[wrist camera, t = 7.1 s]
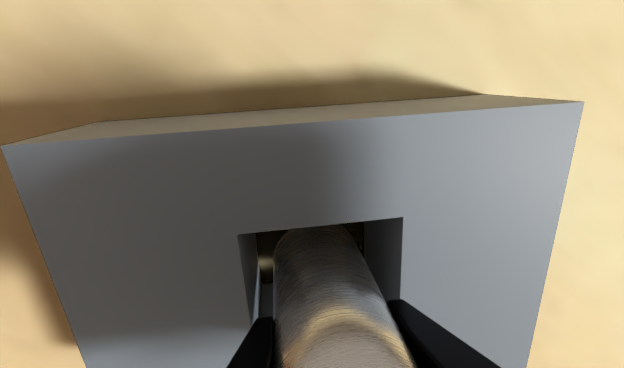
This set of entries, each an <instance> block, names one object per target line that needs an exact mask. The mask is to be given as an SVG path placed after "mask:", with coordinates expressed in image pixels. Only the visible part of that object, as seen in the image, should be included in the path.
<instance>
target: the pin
mask: <svg viewBox="0 0 624 368" xmlns="http://www.w3.org/2000/svg"><path fill="white" fill-rule="evenodd" d="M273 320H274V368H419V367H418V365H417V363H416V361H415V359H414V357H413V355H412V353H411V351H410V349H409V347H408V345H407V343H406V341H405V339H404V337H403V335H402V333H401V331H400V329H399V327H398V325H397V323H396V321H395V319H394V317H393V315H392V313H391V312H390V310H389V308H388V306H387V304H386V302H385V300H384V298H383V296H382V294H381V292H380V290H379V288H378V286H377V284H376V282H375V280H374V278H373V276H372V274H371V272H370V270H369V268H368V266H367V264H366V262H365V260H364V258H363V256H362V254H361V252H360V250H359V248H358V246H357V244H356V242H355V240H354V238H353V237H352V235H351V234H350V233H349V232H348V231H347V230H346V229H345V228H344V227H342V226H341V225H339V224H333V225H323V226H314V227H304V228H295V229H290V230H289V231H287V232H286V233H285V234H284V235H283V236H282V238H281V239H280V240H279V242H278V244H277V246H276V248H275V252H274V257H273Z"/></svg>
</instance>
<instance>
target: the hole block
mask: <svg viewBox="0 0 624 368" xmlns="http://www.w3.org/2000/svg"><path fill="white" fill-rule="evenodd" d="M583 105H584V102H581V101H568V100H554V99H541V98H528V97H515V96H501V95H488V94H484V95H469V96H455V97H441V98H427V99H413V100H399V101H385V102H371V103H357V104H343V105H329V106H315V107H301V108H287V109H272V110H258V111H244V112H230V113H216V114H202V115H188V116H174V117H160V118H146V119H132V120H118V121H104V122H95V123H91V124H87V125H83V126H79V127H75V128H71V129H66V130H62V131H58V132H54V133H50V134H46V135H42V136H38V137H34V138H30V139H26V140H22V141H18V142H14V143H10V144H6V145H2V146H0V148H1V150H2V153H3V155H4V158H5V160H6V163H7V166H8V168H9V171H10V173H11V176H12V178H13V181H14V184H15V186H16V189H17V191H18V194H19V196H20V199H21V201H22V204H23V207H24V209H25V212H26V214H27V217H28V219H29V222H30V225H31V227H32V230H33V232H34V235H35V237H36V240H37V242H38V245H39V248H40V250H41V253H42V255H43V258H44V260H45V263H46V266H47V268H48V271H49V273H50V276H51V278H52V281H53V283H54V286H55V289H56V291H57V294H58V296H59V299H60V301H61V304H62V307H63V309H64V312H65V314H66V317H67V319H68V322H69V324H70V327H71V330H72V332H73V335H74V337H75V340H76V342H77V345H78V348H79V350H80V353H81V355H82V358H83V360H84V363H85V365H86V368H226V367H227V366H228V364H229V362H230V361H231V359H232V358H233V356H234V354H235V353H236V351H237V349H238V348H239V346H240V344H241V343H242V341H243V339H244V338H245V336H246V335H247V333H248V331H249V330H250V328H251V326H252V325H253V323H254V321H255V320H256V319H257V318H258V317H265V316H272V317H273V283H269V284H262V283H261V275H260V268H259V260H258V253H257V245H256V238H255V233H257V232H266V231H276V230H285V229H295V228H304V227H314V226H323V225H333V224H342V223H352V222H361V221H364V260H365V262H366V264H367V266H368V268H369V270H370V272H371V274H372V276H373V278H374V280H375V282H376V284H377V286H378V288H379V290H380V292H381V294H382V296H383V298H384V300H385V302H386V303H387V301H388V300H395V299H403V300H405V301H406V302H408V303H409V304H410V305H412V306H413V307H415V308H416V309H418V310H419V311H421V312H422V313H423V314H425V315H426V316H428V317H429V318H431V319H432V320H434V321H435V322H436V323H438V324H439V325H441V326H442V327H444V328H445V329H446V330H448V331H449V332H451V333H452V334H454V335H455V336H457V337H458V338H459V339H461V340H462V341H464V342H465V343H467V344H468V345H470V346H471V347H472V348H474V349H475V350H477V351H478V352H480V353H481V354H483V355H484V356H485V357H487V358H488V359H490V360H491V361H493V362H494V363H496V364H497V365H498V366H500V367H501V368H526V367H527V362H528V357H529V353H530V348H531V344H532V339H533V334H534V330H535V325H536V321H537V316H538V312H539V307H540V302H541V298H542V293H543V289H544V284H545V279H546V275H547V270H548V266H549V261H550V257H551V252H552V247H553V243H554V238H555V234H556V229H557V225H558V220H559V215H560V211H561V206H562V202H563V197H564V192H565V188H566V183H567V179H568V174H569V170H570V165H571V160H572V156H573V151H574V147H575V142H576V137H577V133H578V128H579V124H580V119H581V115H582V110H583Z"/></svg>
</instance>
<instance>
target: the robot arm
mask: <svg viewBox="0 0 624 368" xmlns="http://www.w3.org/2000/svg"><path fill="white" fill-rule="evenodd" d="M386 304H387V306H388V308H389V310H390V312H391V313H392V315H393V317H394V319H395V321H396V323H397V325H398V327H399V329H400V331H401V333H402V335H403V337H404V339H405V341H406V343H407V345H408V347H409V349H410V351H411V353H412V355H413V357H414V359H415V361H416V363H417V365H418V367H419V368H501V367H500V366H498V365H497V364H496V363H494V362H493V361H491V360H490V359H488V358H487V357H485V356H484V355H483V354H481V353H480V352H478V351H477V350H475V349H474V348H472V347H471V346H470V345H468V344H467V343H465V342H464V341H462V340H461V339H459V338H458V337H457V336H455V335H454V334H452V333H451V332H449V331H448V330H446V329H445V328H444V327H442V326H441V325H439V324H438V323H436V322H435V321H434V320H432V319H431V318H429V317H428V316H426V315H425V314H423V313H422V312H421V311H419V310H418V309H416V308H415V307H413V306H412V305H410V304H409V303H408V302H406V301H405V300H403V299H395V300H388V301H387V303H386ZM226 368H274V320H273V317H272V316H265V317H258V318H257V319H256V320H255V321H254V323H253V325H252V326H251V328H250V330H249V331H248V333H247V335H246V336H245V338H244V339H243V341H242V343H241V344H240V346H239V348H238V349H237V351H236V353H235V354H234V356H233V358H232V359H231V361H230V362H229V364H228V366H227V367H226Z"/></svg>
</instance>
